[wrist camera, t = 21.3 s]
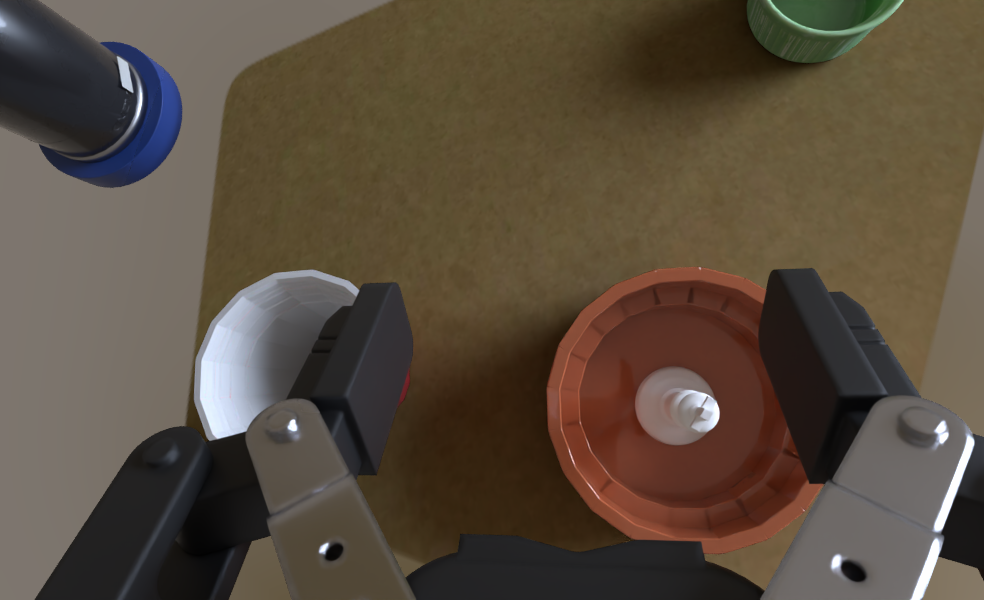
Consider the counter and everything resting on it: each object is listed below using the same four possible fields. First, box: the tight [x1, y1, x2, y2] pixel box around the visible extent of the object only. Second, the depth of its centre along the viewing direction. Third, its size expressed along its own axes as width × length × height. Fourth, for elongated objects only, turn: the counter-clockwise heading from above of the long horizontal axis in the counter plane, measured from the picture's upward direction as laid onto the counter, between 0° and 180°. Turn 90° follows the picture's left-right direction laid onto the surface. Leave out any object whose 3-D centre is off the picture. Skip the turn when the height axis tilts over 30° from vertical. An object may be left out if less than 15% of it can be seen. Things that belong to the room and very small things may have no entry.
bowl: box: [546, 267, 823, 554], centre depth 35 cm, size 16×16×6 cm
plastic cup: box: [194, 270, 410, 441], centre depth 35 cm, size 11×11×12 cm
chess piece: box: [635, 366, 719, 445], centre depth 32 cm, size 5×5×10 cm
